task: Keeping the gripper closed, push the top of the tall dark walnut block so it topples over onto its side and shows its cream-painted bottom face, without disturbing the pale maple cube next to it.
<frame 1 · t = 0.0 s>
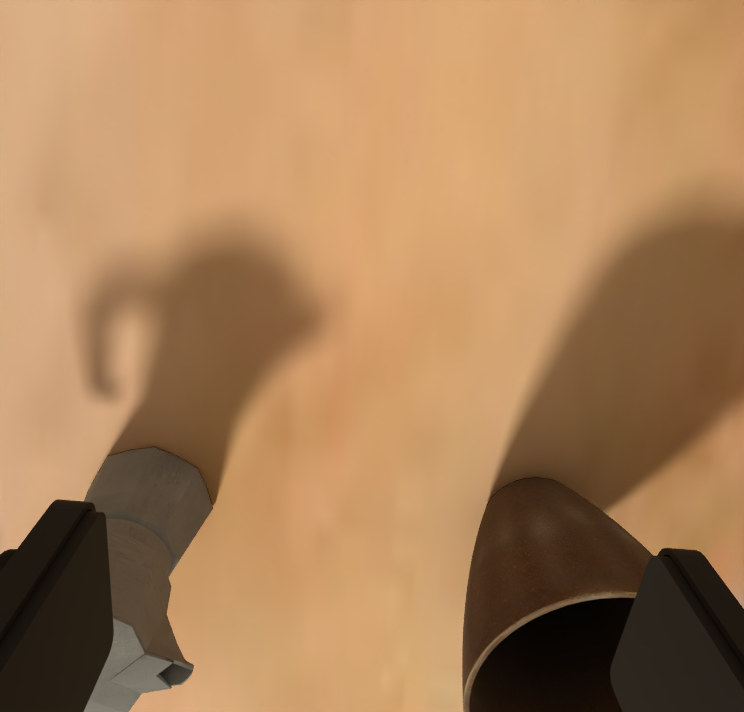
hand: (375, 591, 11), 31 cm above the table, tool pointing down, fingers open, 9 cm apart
brown wooden cup: (527, 514, 49), on the table
coffeepot: (138, 493, 47), on the table
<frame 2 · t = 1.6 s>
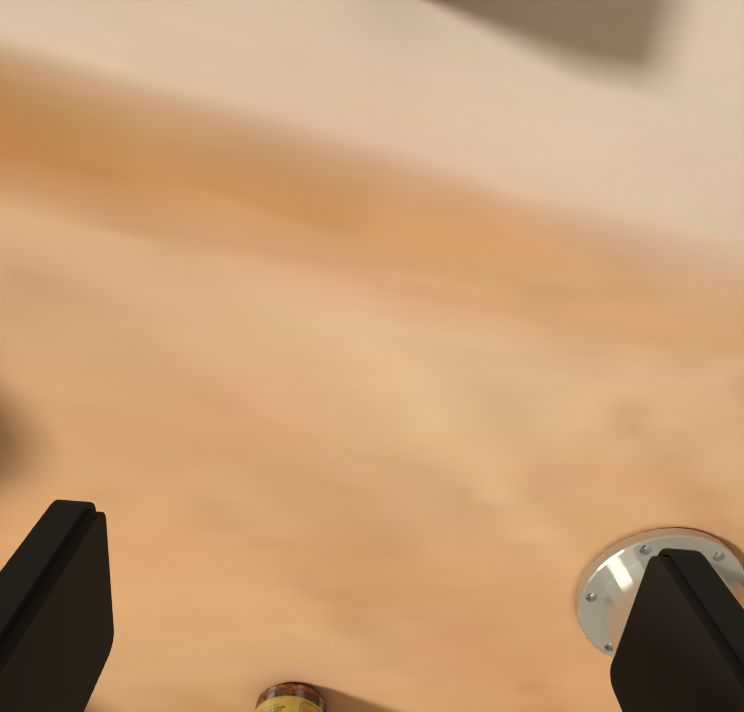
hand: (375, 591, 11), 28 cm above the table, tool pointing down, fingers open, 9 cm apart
sauce bottle: (291, 700, 52), on the table
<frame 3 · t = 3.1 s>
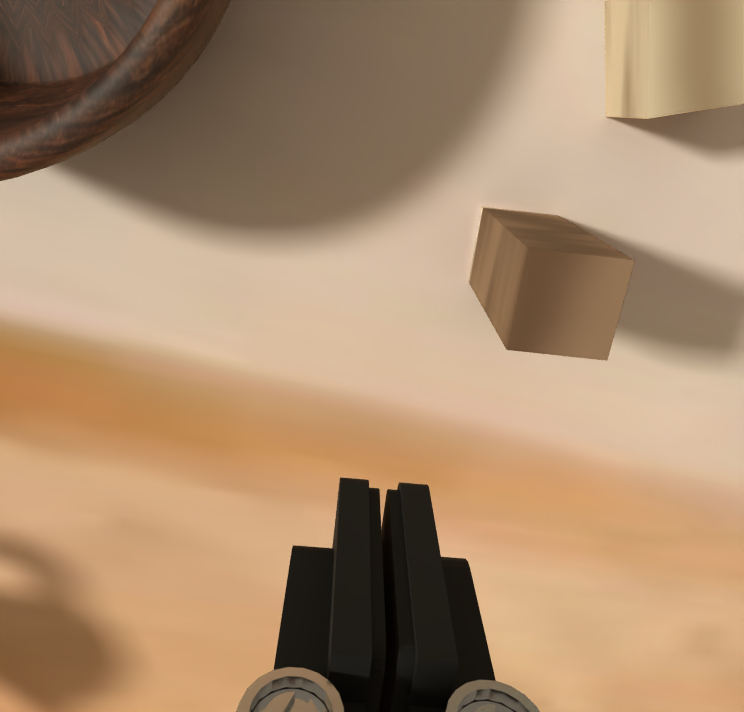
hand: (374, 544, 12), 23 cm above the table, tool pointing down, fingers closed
maple cube: (658, 52, 29), on the table
walnut block: (512, 249, 33), on the table
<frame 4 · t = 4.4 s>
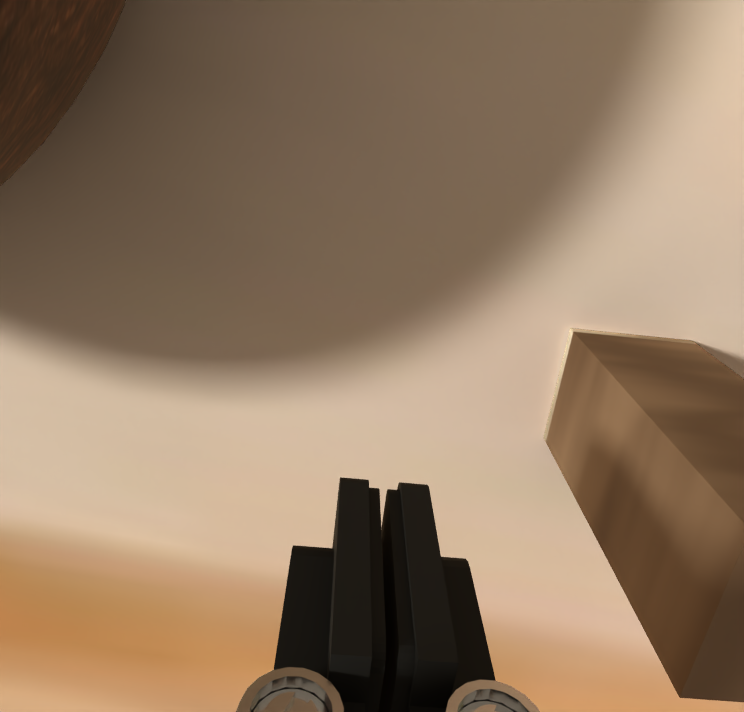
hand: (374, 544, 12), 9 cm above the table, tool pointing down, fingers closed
walnut block: (615, 390, 21), on the table
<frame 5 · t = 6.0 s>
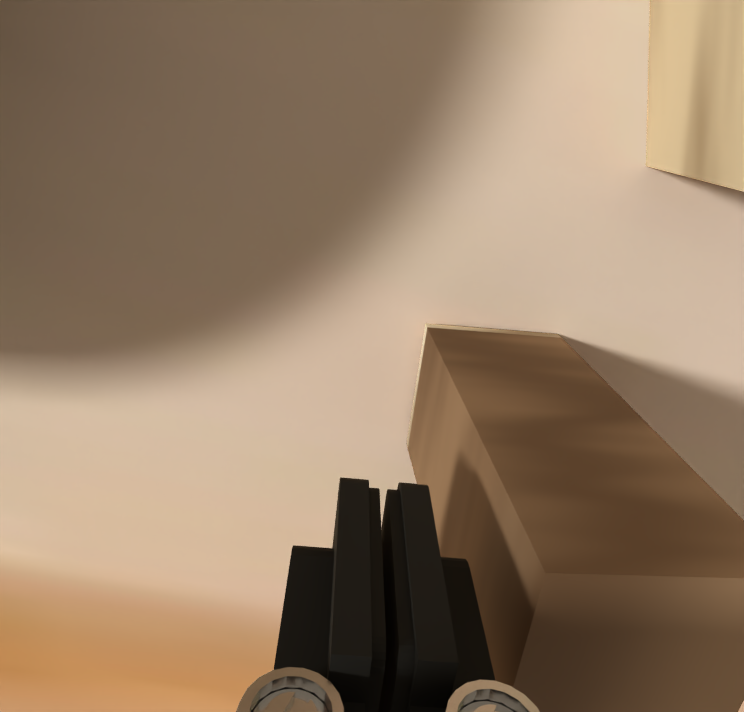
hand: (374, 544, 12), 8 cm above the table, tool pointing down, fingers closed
walnut block: (480, 390, 19), on the table
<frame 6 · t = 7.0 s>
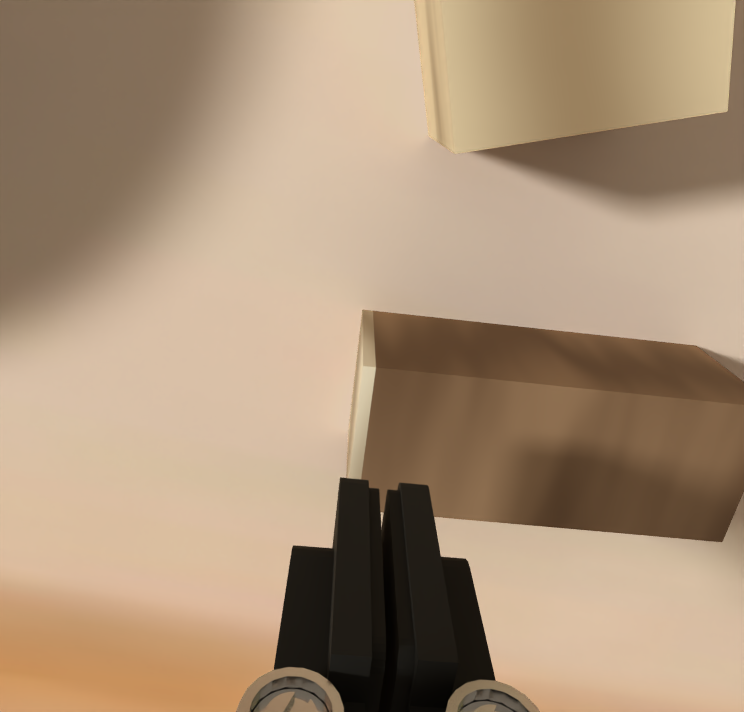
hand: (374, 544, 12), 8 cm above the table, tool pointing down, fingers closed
maple cube: (519, 11, 15), on the table
walnut block: (354, 402, 17), point 2 cm above the table, tilted 90°
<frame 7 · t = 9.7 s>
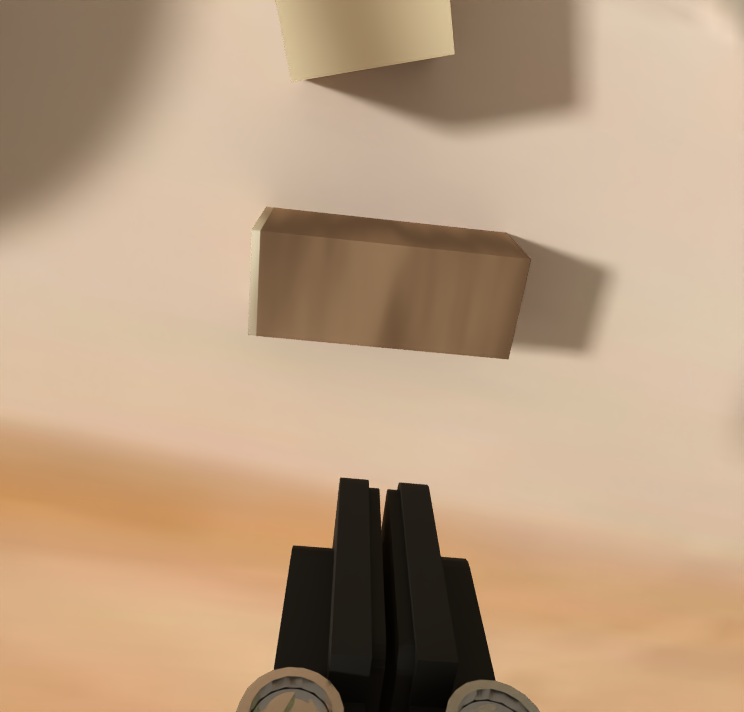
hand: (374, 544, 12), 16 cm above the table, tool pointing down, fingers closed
walnut block: (257, 268, 24), point 2 cm above the table, tilted 90°
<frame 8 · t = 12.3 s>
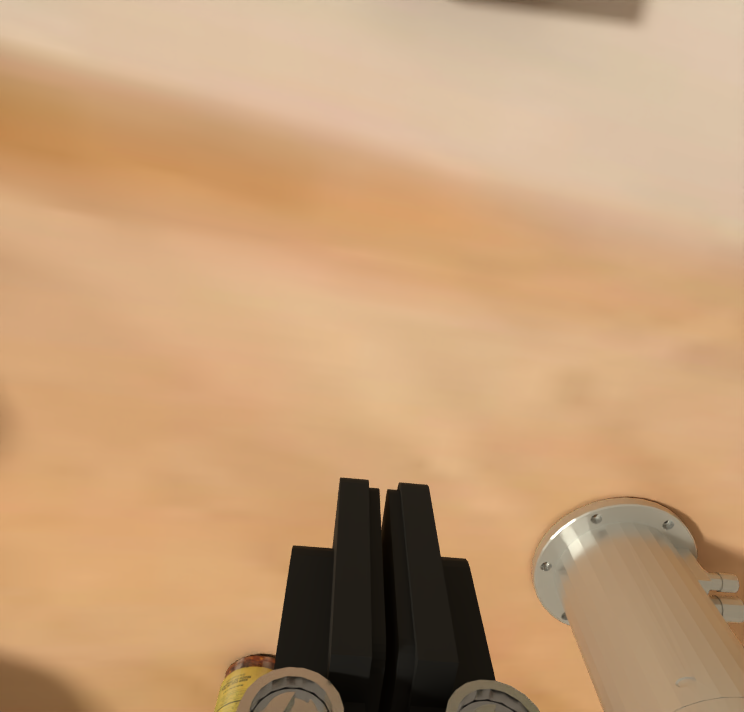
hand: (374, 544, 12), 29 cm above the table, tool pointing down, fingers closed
sauce bottle: (260, 672, 54), on the table
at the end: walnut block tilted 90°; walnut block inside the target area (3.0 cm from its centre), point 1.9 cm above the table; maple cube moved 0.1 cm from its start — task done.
